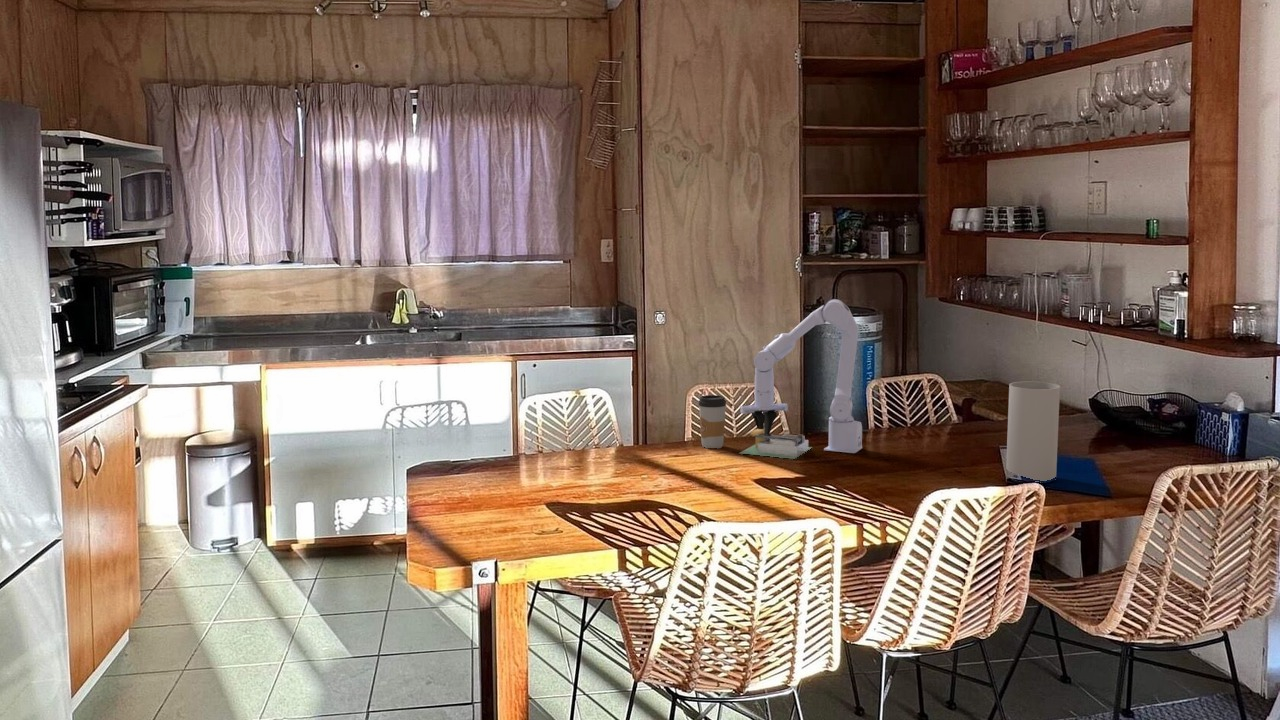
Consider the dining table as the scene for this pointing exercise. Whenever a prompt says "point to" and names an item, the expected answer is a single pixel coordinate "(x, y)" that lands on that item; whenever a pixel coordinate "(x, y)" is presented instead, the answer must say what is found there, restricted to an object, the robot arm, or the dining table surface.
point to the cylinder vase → (1033, 429)
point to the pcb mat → (754, 451)
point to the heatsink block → (784, 446)
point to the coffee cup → (712, 420)
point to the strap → (776, 437)
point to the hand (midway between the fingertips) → (764, 435)
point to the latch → (758, 432)
